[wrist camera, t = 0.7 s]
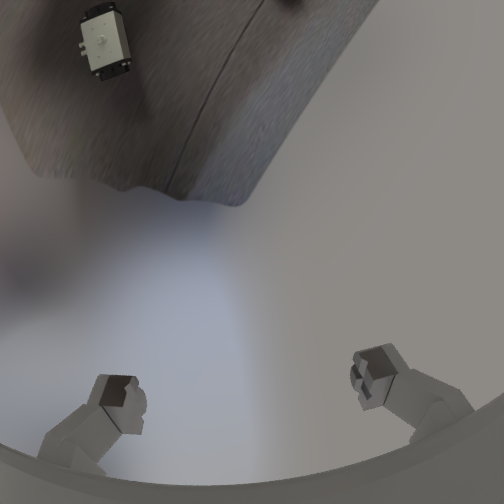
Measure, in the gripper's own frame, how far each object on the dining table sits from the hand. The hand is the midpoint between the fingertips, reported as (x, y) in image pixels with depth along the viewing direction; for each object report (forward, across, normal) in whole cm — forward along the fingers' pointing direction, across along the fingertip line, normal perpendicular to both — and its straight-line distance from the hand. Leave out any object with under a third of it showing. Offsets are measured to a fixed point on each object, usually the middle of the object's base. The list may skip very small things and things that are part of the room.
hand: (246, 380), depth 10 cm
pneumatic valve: (+38, +16, -28) cm, 50 cm away
